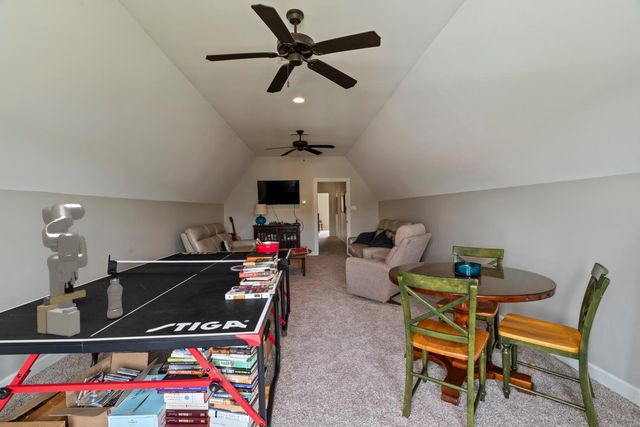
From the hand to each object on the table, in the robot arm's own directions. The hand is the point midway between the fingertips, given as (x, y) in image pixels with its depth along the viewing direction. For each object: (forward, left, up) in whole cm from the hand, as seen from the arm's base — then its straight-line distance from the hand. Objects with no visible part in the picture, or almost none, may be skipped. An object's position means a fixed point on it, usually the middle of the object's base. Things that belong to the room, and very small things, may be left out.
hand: (69, 295), depth 138 cm
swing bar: (+2, -3, -2) cm, 4 cm away
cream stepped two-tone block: (+8, -9, -14) cm, 18 cm away
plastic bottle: (+16, +11, -14) cm, 24 cm away
